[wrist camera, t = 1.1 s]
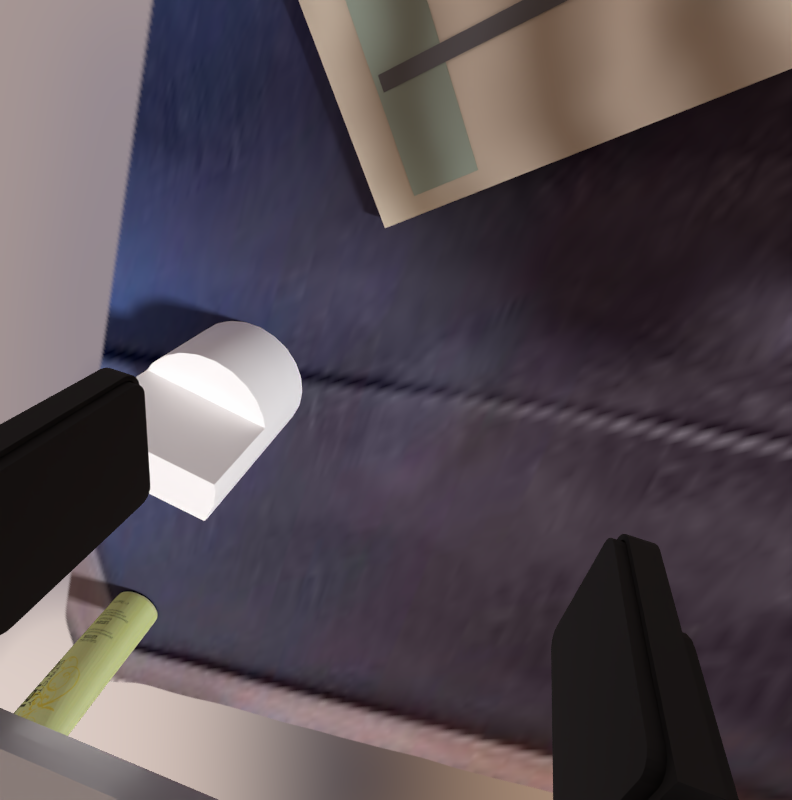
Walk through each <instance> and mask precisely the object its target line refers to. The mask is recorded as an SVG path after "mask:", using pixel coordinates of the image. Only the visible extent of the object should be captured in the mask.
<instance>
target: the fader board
mask: <svg viewBox="0 0 792 800" xmlns="http://www.w3.org/2000/svg"><path fill="white" fill-rule="evenodd" d="M299 3H300V6H301V8H302V11H303V14H304V16H305V19H306V22H307V24H308V27H309V29H310V32H311V35H312V37H313V40H314V43H315V45H316V48H317V50H318V53H319V56H320V58H321V61H322V64H323V66H324V69H325V72H326V74H327V77H328V79H329V82H330V85H331V87H332V90H333V93H334V95H335V98H336V100H337V103H338V106H339V108H340V111H341V114H342V116H343V119H344V122H345V124H346V127H347V129H348V132H349V135H350V137H351V140H352V143H353V145H354V148H355V150H356V153H357V156H358V158H359V161H360V164H361V166H362V169H363V172H364V174H365V177H366V179H367V182H368V185H369V187H370V190H371V193H372V195H373V198H374V200H375V203H376V206H377V208H378V211H379V214H380V216H381V219H382V222H383V224H384V227H385V228H387V227H390V226H392V225H395V224H397V223H400V222H402V221H405V220H407V219H410V218H413V217H415V216H418V215H420V214H423V213H425V212H428V211H430V210H433V209H435V208H438V207H441V206H443V205H446V204H448V203H451V202H453V201H456V200H458V199H461V198H463V197H466V196H469V195H471V194H474V193H476V192H479V191H481V190H484V189H486V188H489V187H491V186H494V185H496V184H499V183H502V182H504V181H507V180H509V179H512V178H514V177H517V176H519V175H522V174H524V173H527V172H530V171H532V170H535V169H537V168H540V167H542V166H545V165H547V164H550V163H552V162H555V161H558V160H560V159H563V158H565V157H568V156H570V155H573V154H575V153H578V152H580V151H583V150H586V149H588V148H591V147H593V146H596V145H598V144H601V143H603V142H606V141H608V140H611V139H614V138H616V137H619V136H621V135H624V134H626V133H629V132H631V131H634V130H636V129H639V128H642V127H644V126H647V125H649V124H652V123H654V122H657V121H659V120H662V119H664V118H667V117H670V116H672V115H675V114H677V113H680V112H682V111H685V110H687V109H690V108H692V107H695V106H698V105H700V104H703V103H705V102H708V101H710V100H713V99H715V98H718V97H720V96H723V95H726V94H728V93H731V92H733V91H736V90H738V89H741V88H743V87H746V86H748V85H751V84H754V83H756V82H759V81H761V80H764V79H766V78H769V77H771V76H774V75H776V74H779V73H782V72H784V71H787V70H789V69H792V0H299Z"/></svg>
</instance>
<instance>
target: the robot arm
mask: <svg viewBox="0 0 792 800" xmlns="http://www.w3.org/2000/svg"><path fill="white" fill-rule="evenodd" d="M149 491H150V471H149V455H148V439H147V423H146V407H145V392H144V389H143V387H142V386H140V385H139V381H138V379H137V378H136V377H134V376H133V375H130V374H126V373H123V372H120V371H117V370H114V369H111V368H103V369H100V370H98V371H97V372H95V373H93V374H91V375H89V376H87V377H86V378H84V379H82V380H80V381H78V382H77V383H75V384H73V385H71V386H69V387H67V388H66V389H64V390H62V391H60V392H58V393H57V394H55V395H53V396H51V397H49V398H48V399H46V400H44V401H42V402H40V403H38V404H37V405H35V406H33V407H31V408H29V409H28V410H26V411H24V412H22V413H20V414H19V415H17V416H15V417H13V418H11V419H10V420H8V421H6V422H4V423H2V424H0V635H1V634H3V633H5V632H6V631H8V630H9V629H10V628H11V627H12V626H14V624H16V622H18V621H19V620H20V619H21V618H22V617H23V616H24V615H25V614H26V613H27V612H28V611H29V610H30V609H31V608H33V607H34V606H35V605H36V604H37V603H38V602H39V601H40V600H41V599H42V598H43V597H44V596H45V595H46V594H47V593H48V592H50V591H51V590H52V589H53V588H54V587H55V586H56V585H57V584H58V583H59V582H60V581H61V580H62V579H63V578H64V577H65V576H66V575H68V574H69V573H70V572H71V571H72V570H73V569H74V568H75V567H76V566H77V565H78V564H79V563H80V562H81V561H82V560H83V559H85V558H86V557H87V556H88V555H89V554H90V553H91V552H92V551H93V550H94V549H95V548H96V547H97V546H98V545H99V544H100V543H102V542H103V541H104V540H105V539H106V538H107V537H108V536H109V535H110V534H111V533H112V532H113V531H114V530H115V529H116V528H117V527H118V526H120V525H121V524H122V523H123V522H124V521H125V520H126V519H127V518H128V517H129V516H130V515H131V514H132V513H133V512H134V511H135V510H136V509H138V508H139V507H140V506H141V505H142V504H143V503H144V501H145V500H146V498H147V497H148V494H149ZM551 660H552V738H553V800H739V799H738V796H737V792H736V789H735V785H734V782H733V778H732V775H731V771H730V768H729V764H728V761H727V757H726V754H725V750H724V747H723V744H722V740H721V737H720V733H719V730H718V726H717V723H716V719H715V716H714V712H713V709H712V705H711V702H710V698H709V695H708V691H707V688H706V684H705V681H704V677H703V674H702V670H701V667H700V663H699V660H698V657H697V653H696V650H695V647H694V645H693V642H692V640H691V639H690V637H689V636H688V635H687V634H686V633H683V632H682V630H681V626H680V622H679V619H678V615H677V611H676V608H675V604H674V600H673V597H672V593H671V589H670V586H669V582H668V578H667V574H666V571H665V567H664V563H663V560H662V556H661V552H660V549H659V547H658V546H657V545H656V544H655V543H651V542H648V541H645V540H642V539H639V538H636V537H633V536H630V535H627V534H622V535H621V536H619V537H618V539H617V540H616V539H613V538H609V539H607V541H606V542H605V543H604V545H603V547H602V549H601V550H600V552H599V554H598V556H597V557H596V559H595V561H594V563H593V564H592V566H591V568H590V570H589V571H588V573H587V575H586V577H585V578H584V580H583V582H582V584H581V585H580V587H579V589H578V591H577V592H576V594H575V596H574V598H573V599H572V601H571V603H570V605H569V606H568V608H567V610H566V611H565V613H564V615H563V617H562V618H561V620H560V622H559V624H558V625H557V627H556V629H555V632H554V635H553V639H552V647H551ZM0 800H218V799H215V798H213V797H211V796H208V795H206V794H204V793H201V792H199V791H196V790H194V789H192V788H189V787H187V786H185V785H182V784H180V783H178V782H175V781H172V780H171V779H168V778H166V777H163V776H161V775H159V774H156V773H154V772H152V771H149V770H147V769H144V768H142V767H140V766H137V765H135V764H133V763H130V762H128V761H125V760H123V759H120V758H118V757H116V756H114V755H111V754H109V753H107V752H104V751H102V750H99V749H97V748H95V747H92V746H90V745H87V744H85V743H83V742H80V741H78V740H76V739H73V738H71V737H68V736H66V735H64V734H61V733H59V732H57V731H54V730H52V729H49V728H47V727H45V726H42V725H40V724H37V723H35V722H33V721H30V720H28V719H25V718H23V717H21V716H18V715H16V714H13V713H11V712H8V711H6V710H3V709H1V708H0Z"/></svg>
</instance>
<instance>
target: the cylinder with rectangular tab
mask: <svg viewBox="0 0 792 800" xmlns="http://www.w3.org/2000/svg"><path fill="white" fill-rule="evenodd" d="M136 378H137V379H138V381H139V385H140V386H142V387H143V389H144V392H145V407H146V423H147V439H148V455H149V471H150V491H149V494H151V495H153V496H155V497H157V498H159V499H161V500H163V501H165V502H167V503H169V504H171V505H173V506H175V507H177V508H179V509H181V510H183V511H185V512H187V513H189V514H191V515H193V516H195V517H197V518H199V519H201V520H203V521H205V520H206V519H207V518H208V517H209V516H210V515H211V513H212V512H213V511H214V510H215V509H216V507H217V506H218V505H219V504H220V503H221V501H222V500H223V499H224V498H225V497H226V495H227V494H228V493H229V492H230V491H231V489H232V488H233V487H234V486H235V485H236V483H237V482H238V481H239V480H240V479H241V477H242V476H243V475H244V474H245V473H246V472H247V470H248V469H249V468H250V467H251V466H252V464H253V463H254V462H255V461H256V460H257V458H258V457H259V456H260V455H261V454H262V452H263V451H264V450H265V449H266V448H267V446H268V445H269V444H270V443H271V442H272V440H273V439H274V438H275V437H276V436H277V434H278V433H279V432H280V431H281V430H282V429H283V427H284V426H285V425H286V424H287V423H288V421H289V420H290V419H291V418H292V417H293V415H294V414H295V412H296V410H297V408H298V407H299V405H300V400H301V395H302V384H301V376H300V373H299V371H298V368H297V365H296V362H295V361H294V359H293V358H292V356H291V355H290V353H289V351H288V350H287V348H286V347H285V346H284V345H283V344H282V343H281V342H280V341H279V340H278V339H277V338H275V337H274V336H273V335H271V334H270V333H268V332H267V331H265V330H263V329H262V328H260V327H257V326H255V325H252V324H249V323H246V322H238V321H227V322H222V323H217V324H215V325H213V326H212V327H210V328H208V329H206V330H205V331H203V332H201V333H200V334H198V335H197V336H195V337H193V338H192V339H190V340H189V341H187V342H185V343H184V344H182V345H181V346H179V347H177V348H176V349H174V350H172V351H171V352H169V353H168V354H166V355H164V356H163V357H161V358H160V359H158V360H156V361H155V362H153V363H152V364H151V366H150V367H149V368H148V369H147V370H146V371H145V372H143V373H141V374H140V375H138V376H137V377H136Z"/></svg>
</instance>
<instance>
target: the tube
mask: <svg viewBox="0 0 792 800" xmlns="http://www.w3.org/2000/svg"><path fill="white" fill-rule="evenodd" d="M156 619H157V611H156V608H155V607H154V605H153V604H152V603H151V602H150V601H149V599H147V598H146V597H144V596H142V595H140V594H137V593H134V592H128V591H127V592H122V593H120V594H119V595H118V596H117V597H116V598H115V599H114V600H113V601H112V602H111V603H110V605H109V606H108V607H107V608H106V609H105V610H104V611H103V612H102V614H101V615H100V616H99V617H98V618H97V619H96V620H95V621H94V623H93V624H92V625H91V626H90V627H89V628H88V629H87V631H86V632H85V633H84V634H83V635H82V636H81V637H80V638H79V640H78V641H77V642H76V643H75V644H74V645H73V646H72V648H71V649H70V650H69V651H68V652H67V653H66V654H65V656H64V657H63V658H62V659H61V660H60V661H59V662H58V663H57V665H56V666H55V667H54V668H53V669H52V670H51V671H50V672H49V674H48V675H47V676H46V677H45V678H44V679H43V681H42V682H41V683H40V684H39V685H38V686H37V687H36V688H35V690H34V691H33V692H32V693H31V694H30V695H29V696H28V698H27V699H26V700H25V701H24V702H23V703H22V704H21V706H20V707H19V708H18V709H17V710H16V711H15V712H14V714H16V715H18V716H21V717H23V718H25V719H28V720H30V721H33V722H35V723H37V724H40V725H42V726H45V727H47V728H49V729H52V730H54V731H57V732H59V733H61V734H64V735H66V736H68V735H69V734H70V732H71V731H72V730H73V728H74V727H75V726H76V724H77V723H78V722H79V721H80V719H81V718H82V717H83V715H84V714H85V713H86V711H87V710H88V708H89V707H90V706H91V705H92V703H93V702H94V701H95V699H96V698H97V697H98V695H99V694H100V693H101V691H102V690H103V689H104V687H105V686H106V685H107V683H108V682H109V681H110V680H111V678H112V677H113V676H114V674H115V673H116V672H117V671H118V669H119V668H120V667H121V665H122V664H123V663H124V661H125V660H126V659H127V658H128V656H129V655H130V654H131V652H132V651H133V650H134V648H135V647H136V646H137V645H138V643H139V642H140V641H141V639H142V638H143V637H144V635H145V634H146V633H147V632H148V630H149V629H150V628H151V626H152V625H153V624H154V622H155V621H156Z"/></svg>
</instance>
